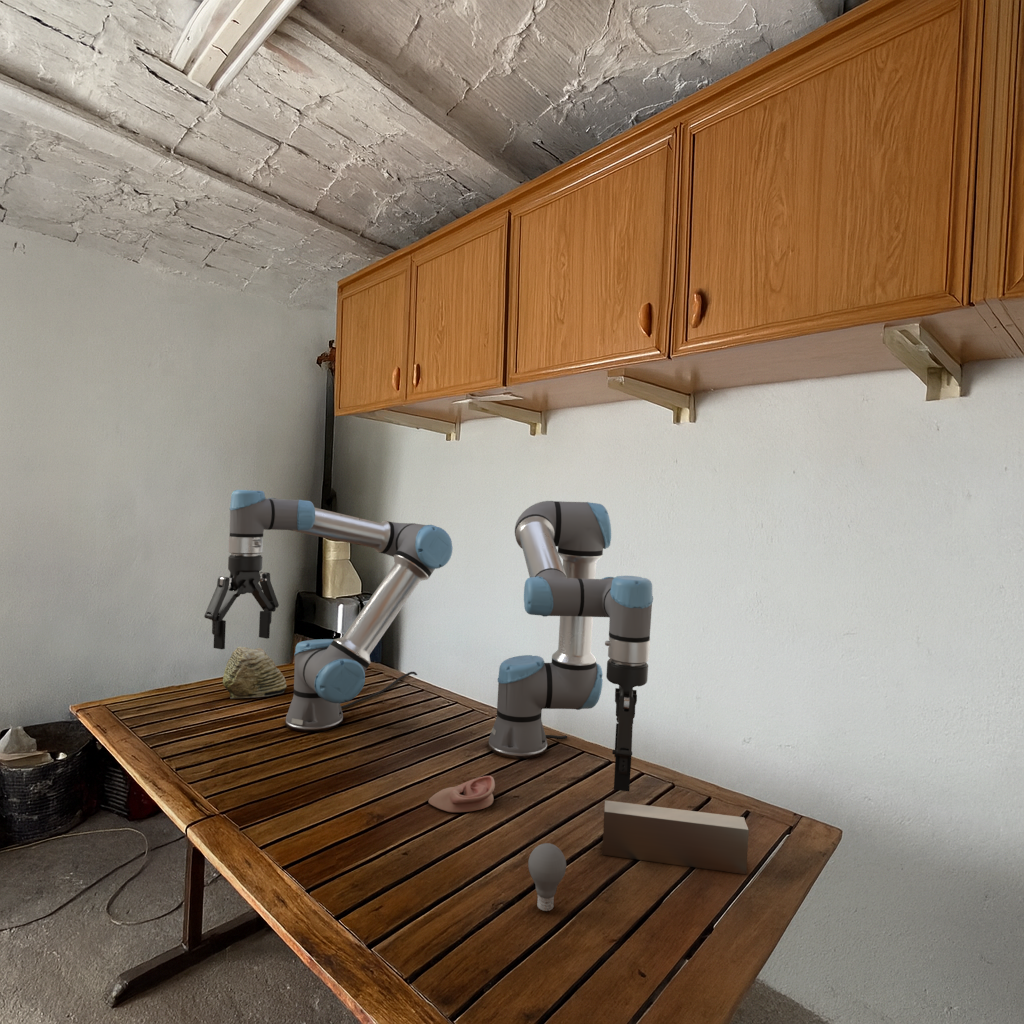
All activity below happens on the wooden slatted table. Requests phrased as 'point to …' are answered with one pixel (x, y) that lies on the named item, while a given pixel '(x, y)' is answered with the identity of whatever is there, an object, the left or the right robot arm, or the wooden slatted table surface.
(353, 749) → the wooden slatted table surface
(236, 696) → the fossil
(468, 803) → the anatomical model
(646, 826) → the bar
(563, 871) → the light bulb
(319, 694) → the left robot arm
